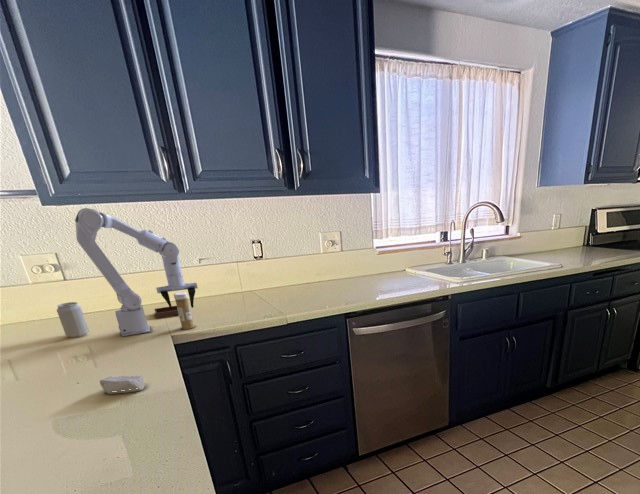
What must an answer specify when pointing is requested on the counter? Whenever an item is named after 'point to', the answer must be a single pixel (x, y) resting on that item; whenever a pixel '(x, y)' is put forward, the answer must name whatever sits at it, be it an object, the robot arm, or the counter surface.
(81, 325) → the can
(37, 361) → the counter surface
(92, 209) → the robot arm
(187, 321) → the sprinkles bottle
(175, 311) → the tray
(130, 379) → the grey rock
